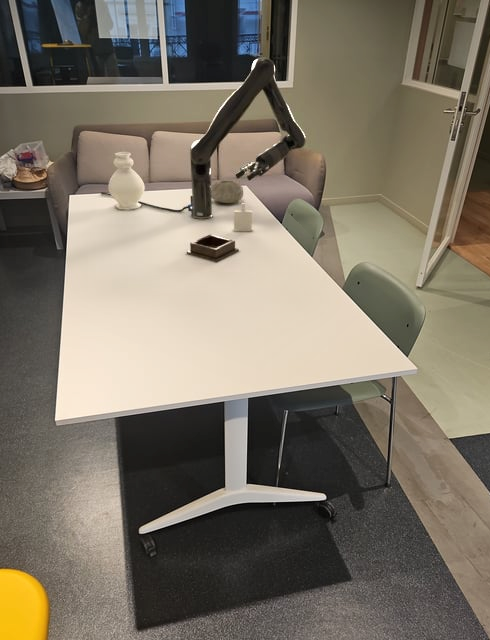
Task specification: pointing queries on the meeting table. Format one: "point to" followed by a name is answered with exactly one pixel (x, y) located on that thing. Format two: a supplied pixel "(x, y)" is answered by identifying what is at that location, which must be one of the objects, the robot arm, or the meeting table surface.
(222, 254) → the bottle stand
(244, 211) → the perfume bottle
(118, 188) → the decorative vase
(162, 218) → the meeting table surface
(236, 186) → the decorative shell
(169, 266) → the meeting table surface
